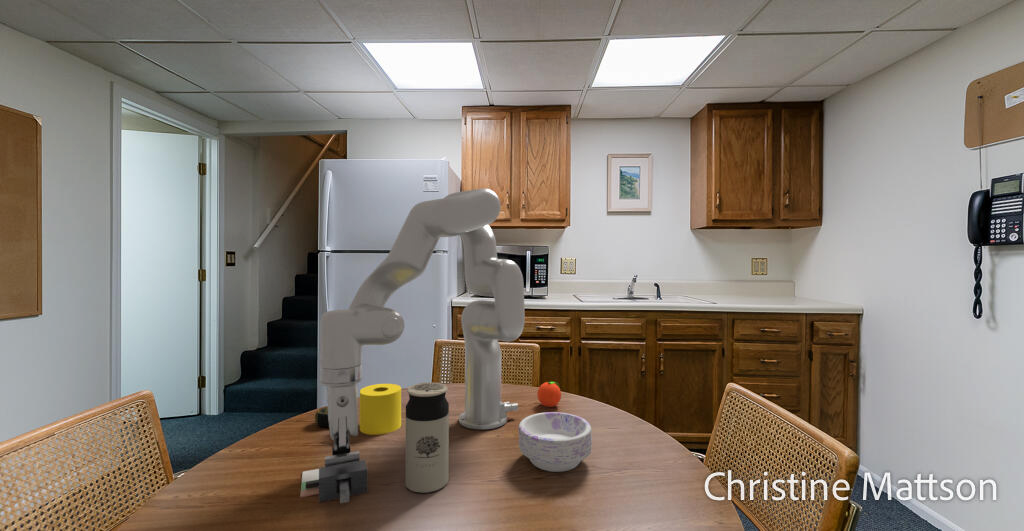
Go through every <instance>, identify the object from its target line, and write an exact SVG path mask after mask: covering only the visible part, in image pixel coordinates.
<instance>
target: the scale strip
mask: <svg viewBox="0 0 1024 531" xmlns="http://www.w3.org/2000/svg"><path fill="white" fill-rule="evenodd" d="M314 480H319V468H316V469H315V468H314V469H311V470H309V469H308V470H304V471H302V477H301V485H300V486H301V487H300V493H299V494H300V495H299V496H300V497H299V498H305V497H309V496H316V495H319V486H318V487H313V488H308V489H306V482H308V481H314Z"/></svg>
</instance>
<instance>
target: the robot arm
mask: <svg viewBox="0 0 1024 531" xmlns="http://www.w3.org/2000/svg"><path fill="white" fill-rule="evenodd" d="M501 206H502V205H501V200H500V198H499V196H498V194H496V193H495V191H493V190H491V189H490V188H484V187H483V188H476V189H470V190H464V191H457V192H452V193H450V194H448V195H445V196H444V197H443V198H438V199H431V200H425V201H420V202H419V203H417V204H414V205H413V207H412V208H411V210H410V211H409V213H408V215H407V217H406V218H405V221H404V222H403V225H402V227H401V229H400V231H399V232H398V234H397V236H396V239H395V241H394V243H393V245H392V247H391V249H390V250H389V253H388V255H387V256H386V257H385V259H383V260H382V261H381V262H380V263H379V265H377V266H376V268H375V269H374V270H373V271H372V272H371V273H370V274H369V275H368V276H367V278H366V279H365V280H364V281H363V282H362V284H361V285H360V287H359V288H358V290H357V291H356V293H355V295H354V297H353V299H352V301H351V303H350V305H349V308H348V309H335V310H329V311H327V312H326V311H325V312H324V313H323V314H322V315H321V318H320V379H319V380H320V385H321V386H324V387H327V389H326V391H327V395H326V396H327V397H326V399H327V400H326V401H327V402H326V403H327V407H328V421H329V427H328V429H329V434H330V435H329V436H330V439H331V440H332V441H333V446H332V447H331V448H332V449H331V450H332V452H331V456H332V455H338V454H344V453H350V452H351V444H350V435H351V437H357V436H358V435H359V424H358V420H359V419H358V417H359V415H358V412H359V410H358V407H359V406H358V386H357V385H358V384H359V383H360V382H362V380H363V346H371V345H372V346H375V345H377V346H378V345H379V346H382V345H389V344H393V343H394V342H396V341H398V340H399V338H401V336H402V335H403V333H404V330H405V321H404V318H403V316H402V315H401V314H400V313H399V312H398V311H397V310H395V309H393V308H389V307H385V305H386V304H387V302H388V300H389V299H390V298H391V297H392V296H393V294H394V293H395V292H396V291H397V290H398V289H400V288H402V287H403V286H405V285H406V284H408V283H411V282H412V281H414V280H416V279H417V278H419V277H420V276H422V275H423V274H424V272H425V270H426V268H427V266H428V263H429V262H430V259H431V257H432V254H434V250H435V249H436V246H437V244H438V243H439V240H440V239H441V238H453V237H457V236H460V238H461V241H462V248H463V260H464V261H463V262H464V279H465V280H464V281H465V286H466V289H467V290H468V292H470V293H471V294H473V295H476V296H483V297H493V298H494V300H485V299H482V300H479V299H478V300H473V301H471V302H469V303H468V304H467V305H466V306H465V307H464V308H463V311H462V313H461V328H462V332H463V334H462V335H463V339H464V362H465V363H464V364H465V365H464V412H462V413H460V414H459V416H458V423H459V424H460V425H461V426H463V427H464V428H468V429H472V430H479V431H480V430H481V431H482V430H493V429H496V428H500V427H502V426H503V425H505V424H506V423H507V421H508V417H507V416H508V415H507V414H508V412H514V411H515V412H516V411H519V403H517V402H513V403H512V402H511V403H510V401H502V348H501V347H500V345H501V344H500V342H499V341H502V342H513V341H515V340H517V339H518V338H519V337H521V335H522V333H523V331H524V327H525V320H526V318H525V317H526V315H525V313H526V312H525V290H524V289H525V285H524V276H523V273H522V271H521V268H520V266H519V265H518V264H517V263H516V262H515V261H513V260H511V259H505V258H498V252H497V251H498V250H497V239H496V235H495V234H494V231H493V229H492V228H491V226H490V225H491V224H492V223H493V222H495V221H496V220H497V219H498V217H499V216H500V213H501V209H502V208H501Z"/></svg>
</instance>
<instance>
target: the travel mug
mask: <svg viewBox="0 0 1024 531" xmlns="http://www.w3.org/2000/svg"><path fill="white" fill-rule="evenodd" d="M447 391H448V386H447V385H446V384H444V383H441V382H420V383H416V384H415V383H414V384H413V385H410V386H409V387H408V388H407V390H406V392H407V394H408V397H409V398H408V401H407V402H406V405H405V482H404V483H405V487H406V488H407V489H408V490H410V491H412V492H415V493H427V494H428V493H432V492H436V491H438V490H441V489H442V488H444V487H445V486H446V485H447V484H448V483H449V474H450V473H449V460H450V459H449V450H450V449H449V445H450V444H449V439H450V438H449V435H450V434H449V432H450V430H449V428H450V427H449V425H450V424H449V423H450V422H449V421H450V417H449V416H450V412H449V411H450V404H449V401H448V400H447V398H446V395H447V394H446V393H447Z"/></svg>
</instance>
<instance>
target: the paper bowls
mask: <svg viewBox="0 0 1024 531" xmlns="http://www.w3.org/2000/svg"><path fill="white" fill-rule="evenodd" d="M592 430H593V429H592V426H591V424H590V422H588V420H586V419H585V418H583V417H581V416H579V415H578V416H577V415H575V414H570V413H567V412H557V411H551V412H549V411H547V412H546V411H545V412H539V413H534V414H531V415H527V416H526V417H524V418H522V420H521V421H520V422H519V424H518V449H519V451H520V453H521V454H522V455H523V456H524V457H526V458H528V459H529V461H530V462H531V464H532V465H533V466H535V467H536V468H538V469H540V470H543V471H545V472H546V471H547V472H551V473H559V472H560V473H561V472H562V473H563V472H566V471H571V470H573V469H575V468H576V467H577V466H578V465H579V464H580V462H582V461H583V460H585V459H586V458H588V457H589V456H590V454H591V453H592V449H593V448H592V444H593V442H592V440H593V439H592Z"/></svg>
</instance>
